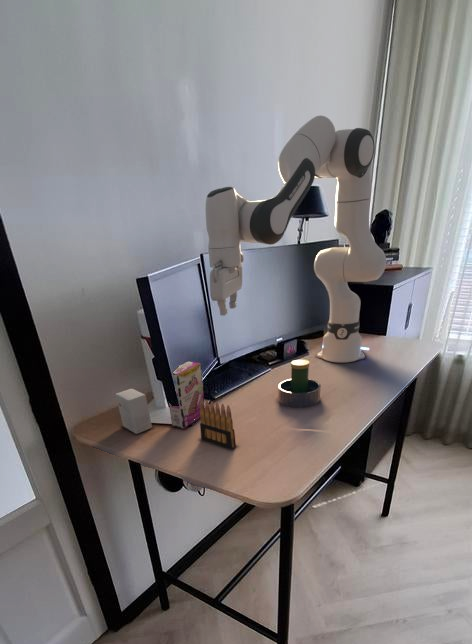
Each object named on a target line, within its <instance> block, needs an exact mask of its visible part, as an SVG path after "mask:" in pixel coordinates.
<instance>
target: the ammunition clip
mask: <svg viewBox="0 0 472 644" xmlns="http://www.w3.org/2000/svg"><path fill="white" fill-rule="evenodd" d="M209 403H210V404H209ZM204 404H205V406H204ZM199 429H200V438H201V441H203V442H207V443H210V444H213V445H216V446H219V447H222V448H225V449H228V450H233V449H235V448H236V447H237V444H236V434H235V429H234V424H233V417H232V410H231V406H230V405H229V404H227V406H226V407H225V405H224V403H221V406H220V404H219V402H216V403H214V402H213V400H211V401H210V402H209V400H208V399H205V401H204V402H203V400H202V398H201V400H200V423H199Z"/></svg>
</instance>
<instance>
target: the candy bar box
mask: <svg viewBox="0 0 472 644" xmlns="http://www.w3.org/2000/svg"><path fill="white" fill-rule="evenodd" d="M178 366H179V367H178V368H177V369H176V370H175V371H174V372H173V379H174V385H175V391H176V394H177V396H178V399H179V406H172V405H171V404H170V403H169V402H168V406H169V413H170V420H171V426H172V427H174V428H179V429H182V430H185V429H186V428H188V427H190V426H191V425H193V424H194V423H196V422H197V421H198V420H201V418H200V400H201V398H202V400H203V402H204V406H205V394H204V382H203V373H202V363H201V362H195V361H186V362H184V363H181V364H180V365H178ZM194 419H195V420H194Z"/></svg>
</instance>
